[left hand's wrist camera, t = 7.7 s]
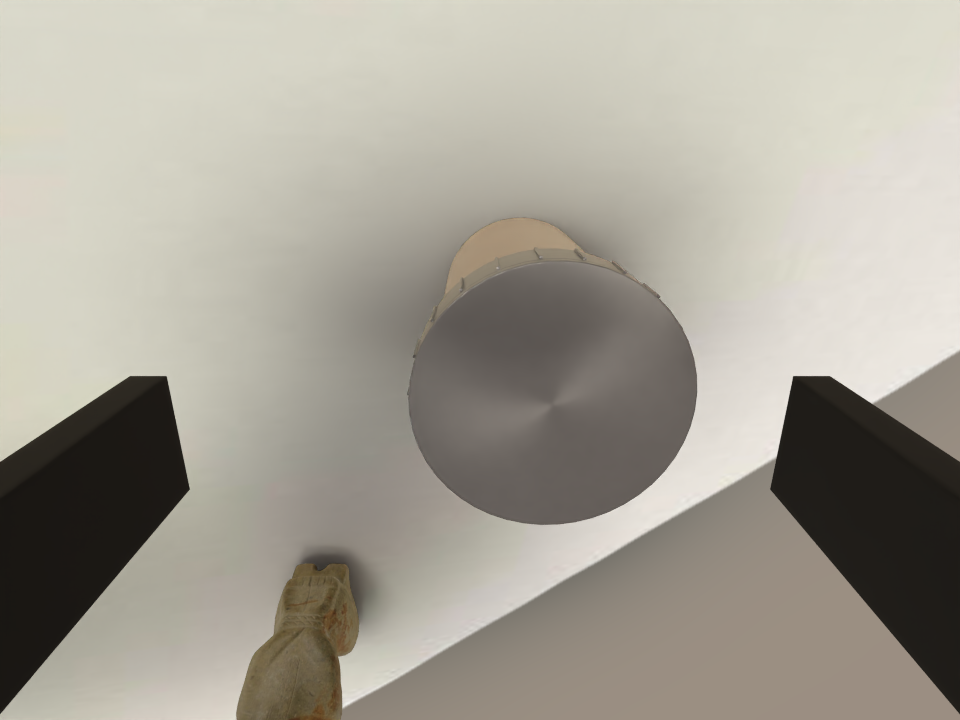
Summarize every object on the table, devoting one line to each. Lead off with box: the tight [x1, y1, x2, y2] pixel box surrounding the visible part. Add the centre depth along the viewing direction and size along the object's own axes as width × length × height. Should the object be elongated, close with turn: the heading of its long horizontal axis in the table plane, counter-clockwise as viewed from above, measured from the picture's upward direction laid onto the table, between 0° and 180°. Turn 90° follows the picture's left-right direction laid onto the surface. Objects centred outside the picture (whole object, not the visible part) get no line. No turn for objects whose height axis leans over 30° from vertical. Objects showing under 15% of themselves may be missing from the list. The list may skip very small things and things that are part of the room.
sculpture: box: [236, 563, 359, 720], centre depth 34 cm, size 6×7×15 cm
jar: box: [444, 218, 585, 297], centre depth 26 cm, size 8×8×15 cm
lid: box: [407, 247, 697, 525], centre depth 20 cm, size 10×10×2 cm
